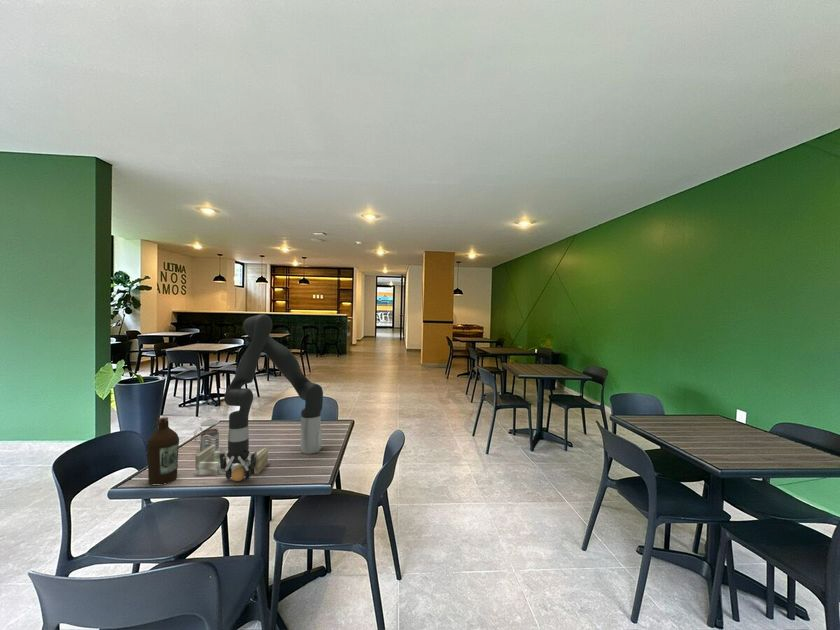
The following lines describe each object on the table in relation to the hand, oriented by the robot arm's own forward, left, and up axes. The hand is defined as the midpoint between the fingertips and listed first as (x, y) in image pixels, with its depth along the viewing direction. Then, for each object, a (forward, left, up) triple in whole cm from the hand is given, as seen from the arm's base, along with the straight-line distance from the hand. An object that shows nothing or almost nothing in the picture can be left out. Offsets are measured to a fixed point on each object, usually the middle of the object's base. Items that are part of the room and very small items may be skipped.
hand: (238, 478), depth 147 cm
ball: (0, 0, +2) cm, 2 cm away
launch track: (+7, -11, -1) cm, 13 cm away
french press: (+29, -30, -1) cm, 42 cm away
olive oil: (+30, 0, -1) cm, 30 cm away
